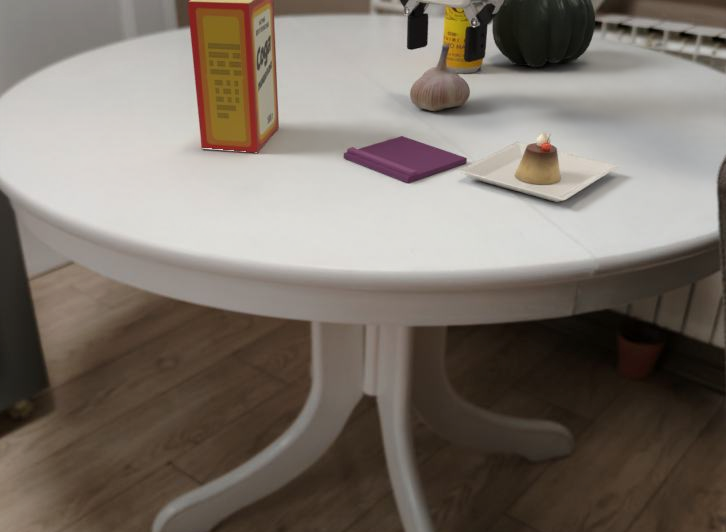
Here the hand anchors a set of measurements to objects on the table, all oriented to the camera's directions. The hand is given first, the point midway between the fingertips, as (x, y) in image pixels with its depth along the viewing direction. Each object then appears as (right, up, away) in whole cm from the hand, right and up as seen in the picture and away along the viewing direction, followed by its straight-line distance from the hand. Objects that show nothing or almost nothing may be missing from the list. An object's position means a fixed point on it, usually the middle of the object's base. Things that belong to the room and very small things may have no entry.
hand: (444, 53), depth 101 cm
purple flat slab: (-6, -16, -13) cm, 22 cm away
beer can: (+5, +5, +21) cm, 22 cm away
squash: (+18, +7, +24) cm, 31 cm away
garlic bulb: (0, -6, +4) cm, 7 cm away
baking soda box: (-25, -12, -7) cm, 28 cm away
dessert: (+7, -20, -18) cm, 27 cm away
